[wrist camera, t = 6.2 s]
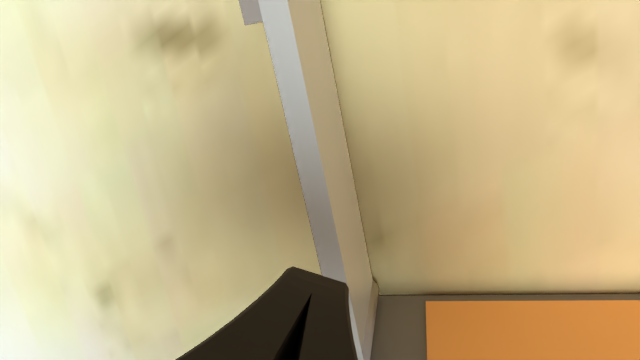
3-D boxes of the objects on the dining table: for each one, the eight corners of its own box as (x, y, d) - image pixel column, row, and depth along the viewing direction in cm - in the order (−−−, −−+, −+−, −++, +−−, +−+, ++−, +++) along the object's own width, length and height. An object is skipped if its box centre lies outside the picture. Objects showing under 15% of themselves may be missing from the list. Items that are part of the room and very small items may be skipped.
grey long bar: (380, 299, 20) (372, 374, 16) (341, 301, 21) (324, 374, 17) (320, -25, 16) (288, -31, 12) (272, -14, 16) (225, -15, 12)
